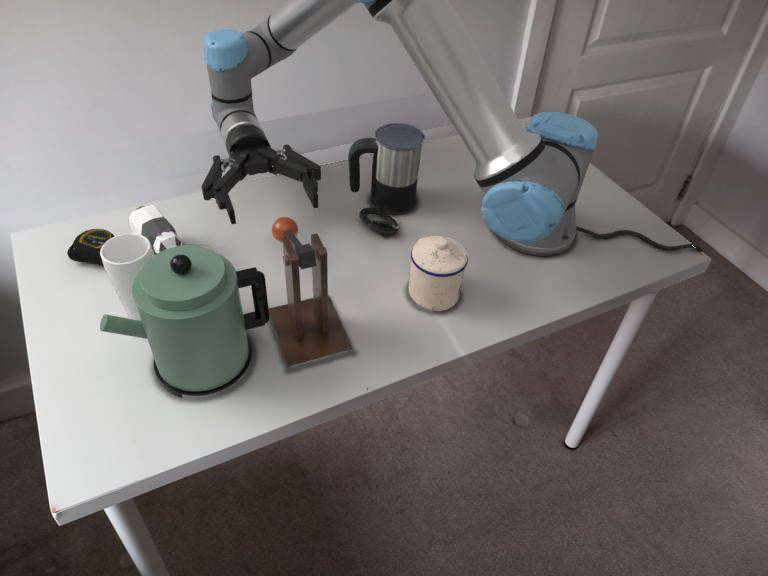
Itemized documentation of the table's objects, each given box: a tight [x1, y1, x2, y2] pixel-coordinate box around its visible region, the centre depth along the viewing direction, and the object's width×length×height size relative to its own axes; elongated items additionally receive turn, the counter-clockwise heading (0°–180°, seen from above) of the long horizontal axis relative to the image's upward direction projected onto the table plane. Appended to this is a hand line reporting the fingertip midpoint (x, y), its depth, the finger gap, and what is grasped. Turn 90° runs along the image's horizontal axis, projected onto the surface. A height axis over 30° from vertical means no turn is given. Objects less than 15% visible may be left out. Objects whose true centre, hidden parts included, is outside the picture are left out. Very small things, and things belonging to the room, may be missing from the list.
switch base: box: [269, 232, 353, 367], centre depth 87 cm, size 12×10×18 cm
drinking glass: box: [100, 232, 154, 321], centre depth 88 cm, size 7×7×15 cm
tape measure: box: [66, 228, 115, 267], centre depth 101 cm, size 7×7×4 cm
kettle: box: [99, 244, 271, 399], centre depth 81 cm, size 22×14×20 cm, turn 112°
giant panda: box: [128, 204, 183, 255], centre depth 99 cm, size 15×6×10 cm, turn 38°
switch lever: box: [271, 216, 317, 270], centre depth 87 cm, size 15×4×4 cm, turn 22°
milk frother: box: [347, 122, 426, 237], centre depth 111 cm, size 14×16×15 cm
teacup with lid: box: [407, 235, 469, 312], centre depth 97 cm, size 12×9×12 cm
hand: (275, 209), depth 96 cm, fingers open, 13 cm apart
